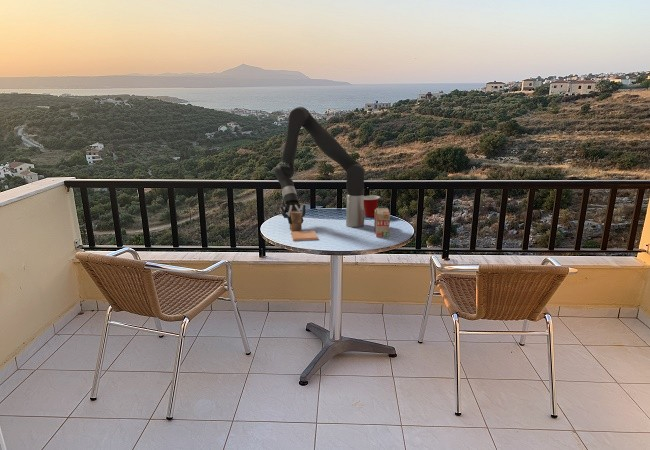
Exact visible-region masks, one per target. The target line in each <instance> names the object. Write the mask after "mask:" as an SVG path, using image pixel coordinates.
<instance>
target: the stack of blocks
mask: <svg viewBox="0 0 650 450" xmlns="http://www.w3.org/2000/svg"><path fill="white" fill-rule="evenodd" d="M374 215H375V217H374V231H375V237H376V238H389V236H390V222H391V213H390V210H389V208H387V207H384V208H383V207H382V208H381V207H377V208H376V210H375V214H374Z"/></svg>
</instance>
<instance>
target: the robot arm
mask: <svg viewBox="0 0 650 450" xmlns="http://www.w3.org/2000/svg"><path fill="white" fill-rule="evenodd" d="M302 128H303V129H304V130H305V131H307V133H309V135H310V136H311V138H312V139H313V141H314V143H315V145H316V146H317V148H319V150H320V151H321V152H322V153H324V155H326V156H327V157H328V158H329V159H331V160H332V161H334V162H336V163H337V164H338V165H339V166H340V167H341V168H342V169H343V170H344V171H345V172H346V183H345V184H346V209H345V210H346V211H345V212H346V213H345V214H346V215H345V216H346V218H345V225H346V226H347V227H349V228H360V227H364V226H365V210H364V196H365V175H366V170H365V168H364V166H363V165H362V164H360V163H359V162H358V161H357V160H355V159H354V158H353V157H352V156H351V155H349V153H348V152H347V151H346V150H345V148H344V147H343V146H342V145H341V144H340V143H339V142H338V141H337V140H336V139H335V138H334V137H333V136H332V134H330V132H328V131H327V129H325V128H324V127H323V126H322V125H321V124H320V123H319V122H318V121H317V120H316V119H315V118H314V117H313V115H312V114H311V113H310V112H309V110H308V108H305V107H303V106H298V107H294V108H292V109H291V110H290V111H289V116H288V125H287V134H286V138H285V142H284V147H283V150H282V153H281V160H282V161H283V162H284V163H286V164H287V165H283V164H278V165H277V166H275V168H274V175H275V178H276V179H277V181H278V183H279V184H280V188H281V193H282V199H283V202H284V203H283V204H284V206H280V208H279V210H280V213H281V215H282V216H283V218H284V219H287V222H288V224H289V226H290V225H292V220H291V217H290V211H300V212H301V225H302V224H303V223H304V217H305V215H306V205H305V204H303V205H301V204H300V203H299V197H298V194H297V190H296V188H295V184H294V181H293V179H292V177H293V176H294V174H295V158H296V154H297V151H298V145H299V143H298V142H299V141H298V139H299V135H300V132H301V129H302ZM300 209H301V210H300ZM286 211H287V212H288V213H287V212H286Z"/></svg>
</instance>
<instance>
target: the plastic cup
mask: <svg viewBox="0 0 650 450" xmlns="http://www.w3.org/2000/svg"><path fill="white" fill-rule="evenodd" d="M380 198H381V196H378V195H375V194H374V195H364V207H363V208H364V210H365V211H364V216H365V217H366V218H375V215H374V214H375V210H376V208H378V206H379V201H380Z"/></svg>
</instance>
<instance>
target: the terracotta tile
mask: <svg viewBox="0 0 650 450" xmlns="http://www.w3.org/2000/svg"><path fill="white" fill-rule="evenodd" d="M290 235H292V236H291V239H292V240H293V242H300V241H299V240H304V241H318V240H319V237H318V235H317V233H316V231H315V230H302V231H290Z"/></svg>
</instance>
